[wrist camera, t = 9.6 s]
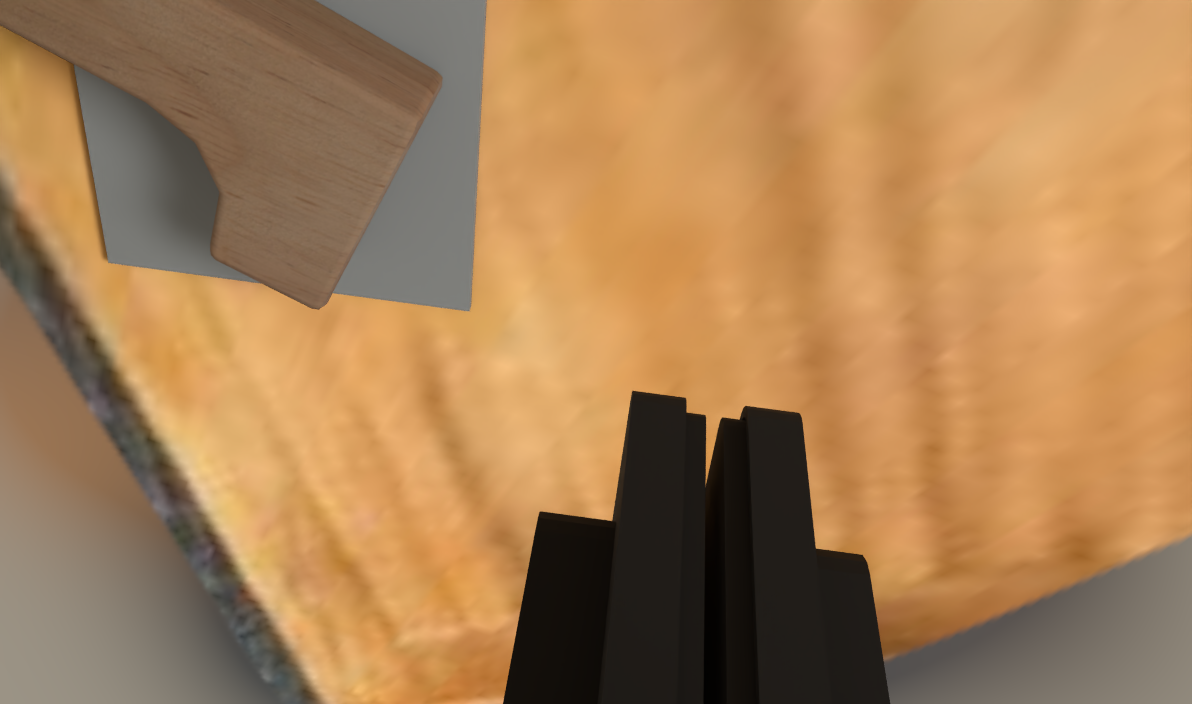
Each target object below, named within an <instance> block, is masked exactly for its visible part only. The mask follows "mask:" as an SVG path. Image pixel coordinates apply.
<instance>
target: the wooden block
mask: <svg viewBox="0 0 1192 704" xmlns="http://www.w3.org/2000/svg"><path fill="white" fill-rule="evenodd" d="M0 25H1V26H3V27H5V28H6V29H8V30H10V31H12V32H14V33H16V34H18V35H20V36H21V37H23V38H25V39H27V40H29V41H31V42H33V43H35V44H37V45H38V46H40V47H42V48H44V49H46V50H48V51H50V52H52V53H53V54H55V55H57V56H59V57H61V58H63V59H65V60H67V61H68V62H70V63H72V64H74V65H76V66H78V67H80V68H82V69H83V70H85V71H87V72H89V73H91V74H93V75H95V76H97V77H98V78H100V79H102V80H104V81H106V82H108V83H110V84H112V85H113V86H115V87H117V88H119V89H121V90H123V91H125V92H127V93H128V94H130V95H132V96H134V97H136V98H138V99H140V100H142V101H144V102H145V103H147V104H148V105H149V106H151V107H152V108H153V109H154V110H156V111H157V112H158V113H159V114H160V115H162V116H163V117H164V118H165V119H166V120H168V121H169V122H170V123H171V124H173V125H174V126H175V127H176V128H177V129H179V130H180V131H181V132H182V133H183V134H185V135H186V136H187V137H188V138H190V139H191V140H192V141H193V142H194V143H195V144H196V146H197V148H198V150H199V152H200V154H201V156H202V158H203V160H204V162H205V164H206V166H207V168H208V170H209V172H210V174H211V176H212V178H213V180H214V182H215V184H216V186H217V188H218V190H219V197H218V203H217V208H216V214H215V219H214V225H213V230H212V236H211V241H210V253H211V256H212V257H213V258H214V259H215V260H216V261H218V262H220V263H222V264H224V265H226V266H228V267H230V268H232V269H234V270H236V271H238V272H240V273H242V274H244V275H246V276H248V277H250V278H252V279H254V280H256V281H258V282H260V283H262V284H264V285H266V286H268V287H270V288H272V289H274V290H276V291H278V292H280V293H282V294H284V295H286V296H288V297H290V298H292V299H294V300H296V301H298V302H300V303H302V304H304V305H306V306H308V307H310V308H312V309H320V308H321V307H323V306H324V305H326V304H327V302H328V301H329V299H330V297H331V295H332V293H333V291H334V289H335V287H336V286H337V284H338V282H339V280H340V278H341V276H342V274H343V272H344V270H345V269H346V267H347V265H348V263H349V261H350V259H351V257H352V255H353V254H354V252H355V250H356V248H357V246H358V244H359V242H360V240H361V238H362V237H363V235H364V233H365V231H366V229H367V227H368V225H369V223H370V222H371V220H372V218H373V216H374V214H375V212H376V210H377V208H378V206H379V205H380V203H381V201H382V199H383V197H384V195H385V193H386V191H387V189H388V188H389V186H390V184H391V182H392V180H393V178H394V176H395V174H396V173H397V171H398V169H399V167H400V165H401V163H402V161H403V159H404V157H405V156H406V154H407V152H408V150H409V148H410V146H411V144H412V142H413V141H414V139H415V137H416V135H417V133H418V131H419V129H420V127H421V125H422V124H423V122H424V120H425V118H426V116H427V114H428V112H429V110H430V108H431V107H432V105H433V103H434V101H435V99H436V97H437V95H438V93H439V91H440V89H441V88H442V80H443V78H442V76H441V75H440V74H439V73H438V72H437V71H436V70H434V69H433V68H431V67H429V66H427V65H426V64H424V63H422V62H420V61H419V60H417V59H415V58H414V57H412V56H410V55H408V54H407V53H405V52H403V51H402V50H400V49H398V48H396V47H395V46H393V45H391V44H390V43H388V42H386V41H384V40H383V39H381V38H379V37H377V36H376V35H374V34H372V33H371V32H369V31H367V30H365V29H364V28H362V27H360V26H359V25H357V24H355V23H353V22H352V21H350V20H348V19H346V18H345V17H343V16H341V15H340V14H338V13H336V12H334V11H333V10H331V9H329V8H328V7H326V6H324V5H322V4H321V3H319V2H317V1H315V0H0Z"/></svg>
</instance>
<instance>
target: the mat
mask: <svg viewBox="0 0 1192 704" xmlns="http://www.w3.org/2000/svg"><path fill="white" fill-rule="evenodd" d="M315 1H317V2H319V3H321V4H322V5H324V6H326V7H328V8H329V9H331V10H333V11H334V12H336V13H338V14H340V15H341V16H343V17H345V18H346V19H348V20H350V21H352V22H353V23H355V24H357V25H359V26H360V27H362V28H364V29H365V30H367V31H369V32H371V33H372V34H374V35H376V36H377V37H379V38H381V39H383V40H384V41H386V42H388V43H390V44H391V45H393V46H395V47H396V48H398V49H400V50H402V51H403V52H405V53H407V54H408V55H410V56H412V57H414V58H415V59H417V60H419V61H420V62H422V63H424V64H426V65H427V66H429V67H431V68H433V69H434V70H436V71H437V72H438V73H439V74H440V75H441V76H442V78H443V80H442V88H441V89H440V91H439V93H438V95H437V97H436V99H435V101H434V103H433V105H432V107H431V108H430V110H429V112H428V114H427V116H426V118H425V120H424V122H423V124H422V125H421V127H420V129H419V131H418V133H417V135H416V137H415V139H414V141H413V142H412V144H411V146H410V148H409V150H408V152H407V154H406V156H405V157H404V159H403V161H402V163H401V165H400V167H399V169H398V171H397V173H396V174H395V176H394V178H393V180H392V182H391V184H390V186H389V188H388V189H387V191H386V193H385V195H384V197H383V199H382V201H381V203H380V205H379V206H378V208H377V210H376V212H375V214H374V216H373V218H372V220H371V222H370V223H369V225H368V227H367V229H366V231H365V233H364V235H363V237H362V238H361V240H360V242H359V244H358V246H357V248H356V250H355V252H354V254H353V255H352V257H351V259H350V261H349V263H348V265H347V267H346V269H345V270H344V272H343V274H342V276H341V278H340V280H339V282H338V284H337V286H336V287H335V289H334V291H333V293H336V294H344V295H351V296H359V297H366V298H374V299H381V300H388V301H396V302H403V303H411V304H418V305H426V306H433V307H440V308H448V309H455V310H463V311H470V308H471V296H472V276H473V257H474V237H475V217H476V198H477V178H478V159H479V139H480V120H481V100H482V80H483V61H484V41H485V22H486V2H487V0H315ZM74 69H75V75H76V81H77V87H78V92H79V98H80V104H81V109H82V115H83V121H84V126H85V132H86V138H87V143H88V149H89V155H90V160H91V166H92V172H93V178H94V183H95V189H96V195H97V200H98V206H99V212H100V217H101V223H102V229H103V234H104V240H105V246H106V251H107V257H108V263H114V264H121V265H128V266H136V267H143V268H151V269H158V270H166V271H173V272H180V273H188V274H195V275H203V276H210V277H218V278H225V279H232V280H240V281H247V282H255V283H260V282H258V281H256V280H254V279H252V278H250V277H248V276H246V275H244V274H242V273H240V272H238V271H236V270H234V269H232V268H230V267H228V266H226V265H224V264H222V263H220V262H218V261H216V260H215V259H214V258H213V257H212V256H211V253H210V241H211V236H212V230H213V225H214V219H215V214H216V208H217V203H218V197H219V190H218V188H217V186H216V184H215V182H214V180H213V178H212V176H211V174H210V172H209V170H208V168H207V166H206V164H205V162H204V160H203V158H202V156H201V154H200V152H199V150H198V148H197V146H196V144H195V143H194V142H193V141H192V140H191V139H190V138H188V137H187V136H186V135H185V134H183V133H182V132H181V131H180V130H179V129H177V128H176V127H175V126H174V125H173V124H171V123H170V122H169V121H168V120H166V119H165V118H164V117H163V116H162V115H160V114H159V113H158V112H157V111H156V110H154V109H153V108H152V107H151V106H149V105H148V104H147V103H145V102H144V101H142V100H140V99H138V98H136V97H134V96H132V95H130V94H128V93H127V92H125V91H123V90H121V89H119V88H117V87H115V86H113V85H112V84H110V83H108V82H106V81H104V80H102V79H100V78H98V77H97V76H95V75H93V74H91V73H89V72H87V71H85V70H83V69H82V68H80V67H78V66H76V65H74Z"/></svg>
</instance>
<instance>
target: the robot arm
mask: <svg viewBox="0 0 1192 704" xmlns="http://www.w3.org/2000/svg"><path fill="white" fill-rule="evenodd" d="M705 480H706V416H705V415H700V414H693V413H686V398H682V397H675V396H667V395H660V394H652V393H645V392H637V391H632V395H631V401H630V408H629V414H628V421H627V428H626V434H625V441H624V447H623V454H622V461H621V467H620V474H619V480H618V487H617V494H616V500H615V507H614V514H613V520H612V521H607V520H600V519H592V518H585V517H578V516H570V515H563V514H555V513H548V512H541V511H540V513H539V516H538V521H537V526H536V530H535V536H534V541H533V546H532V552H531V557H530V562H529V568H528V573H527V579H526V584H525V589H524V595H523V600H522V605H521V611H520V616H519V621H518V627H517V632H516V637H515V643H514V648H513V653H512V659H511V664H510V669H509V675H508V680H507V685H506V691H505V696H504V702H503V704H890V700H889V693H888V687H887V680H886V674H885V668H884V661H883V655H882V648H881V642H880V636H879V629H878V623H877V616H876V610H875V604H874V597H873V591H872V584H871V578H870V573H869V569H868V565H867V562H866V560H865V558H864V557H863V555H859V554H852V553H844V552H837V551H830V550H822V549H816V547H815V537H814V528H813V518H812V509H811V499H810V490H809V480H808V471H807V461H806V451H805V442H804V432H803V423H802V418H801V415H800V414H799V413H795V412H787V411H780V410H772V409H765V408H757V407H750V406H745V407H744V408H743V411H742V413H741V417H740V420H738V419H730V418H721V421H720V424H719V428H718V432H717V437H716V442H715V446H714V451H713V455H712V460H711V465H710V469H709V474H708V479H707V483H706V488H705Z"/></svg>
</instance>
